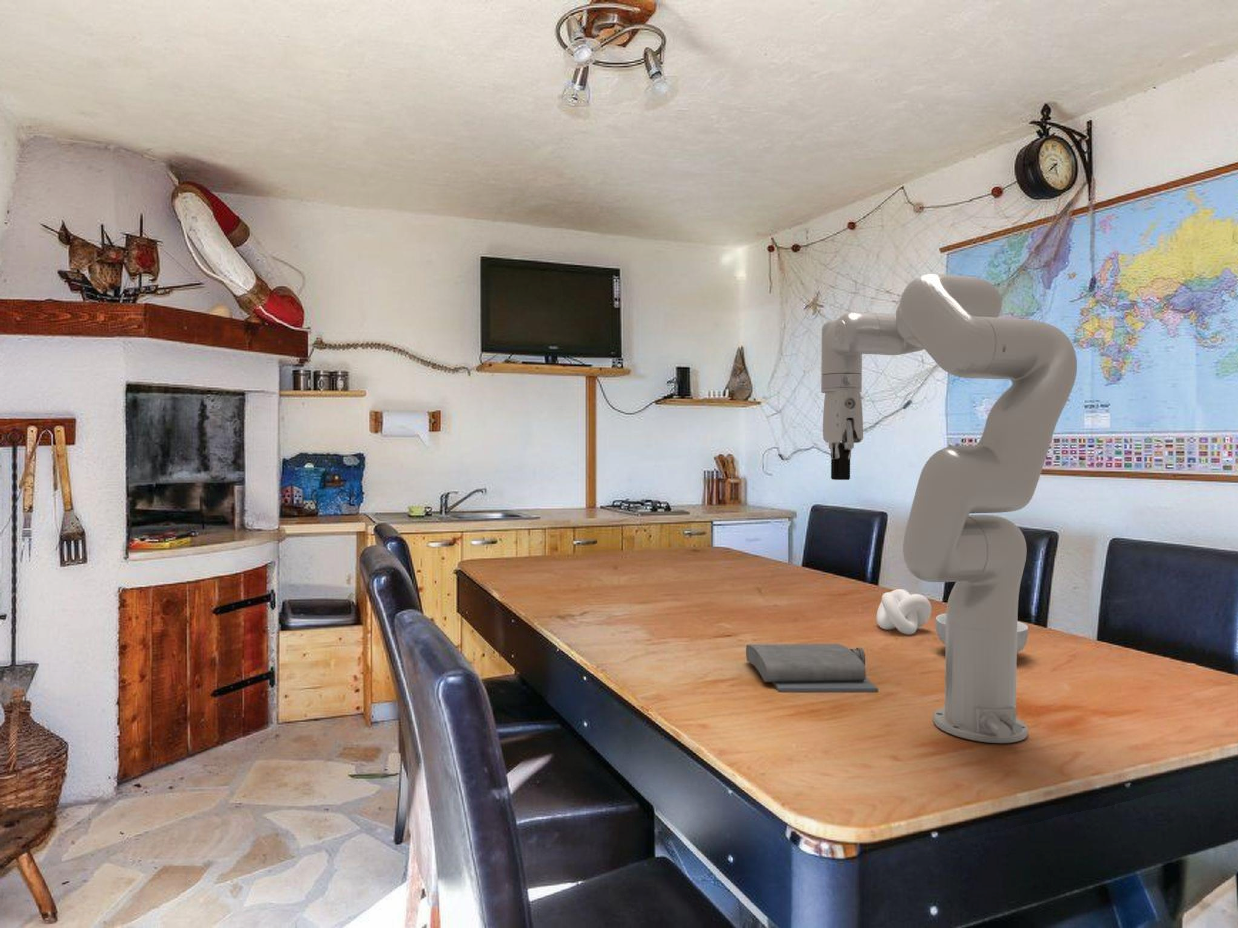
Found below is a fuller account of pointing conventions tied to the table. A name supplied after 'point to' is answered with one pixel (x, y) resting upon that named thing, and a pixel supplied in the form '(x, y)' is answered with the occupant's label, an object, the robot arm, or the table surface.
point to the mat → (826, 686)
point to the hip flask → (807, 662)
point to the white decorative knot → (903, 611)
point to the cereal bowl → (1021, 631)
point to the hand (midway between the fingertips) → (840, 479)
